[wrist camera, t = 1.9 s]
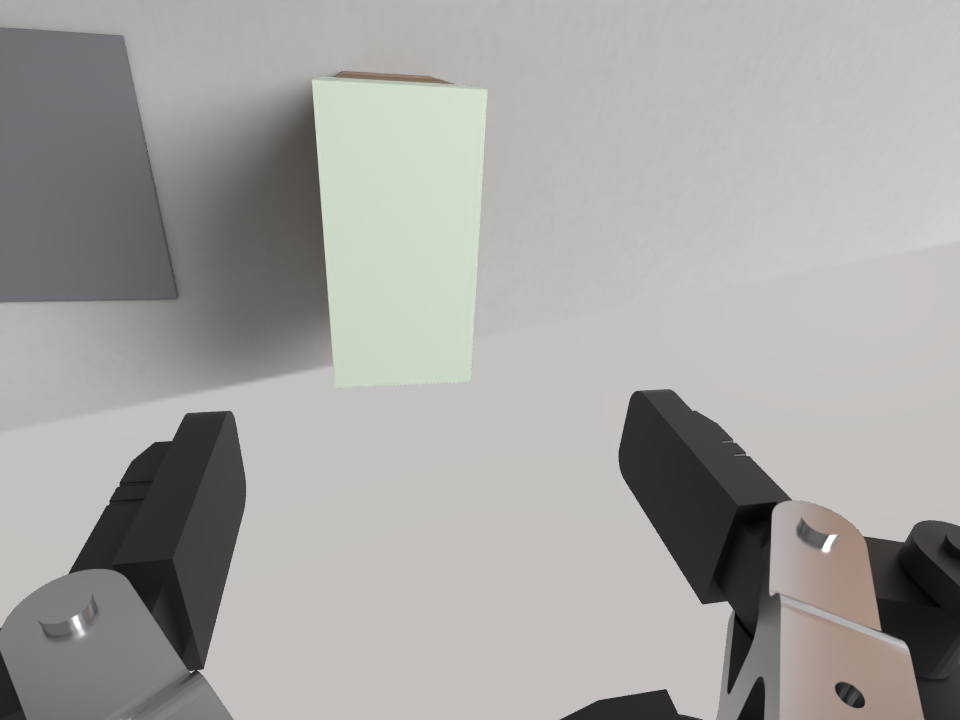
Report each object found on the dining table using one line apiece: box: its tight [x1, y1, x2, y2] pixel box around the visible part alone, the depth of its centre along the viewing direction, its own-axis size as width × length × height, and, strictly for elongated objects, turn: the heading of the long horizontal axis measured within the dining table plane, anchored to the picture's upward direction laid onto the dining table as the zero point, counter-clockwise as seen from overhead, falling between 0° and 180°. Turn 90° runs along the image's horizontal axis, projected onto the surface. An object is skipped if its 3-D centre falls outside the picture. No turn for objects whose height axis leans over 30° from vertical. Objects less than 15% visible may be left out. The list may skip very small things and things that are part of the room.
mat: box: [0, 28, 178, 301], centre depth 30 cm, size 14×12×1 cm
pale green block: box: [312, 77, 487, 388], centre depth 24 cm, size 12×6×4 cm, turn 177°
